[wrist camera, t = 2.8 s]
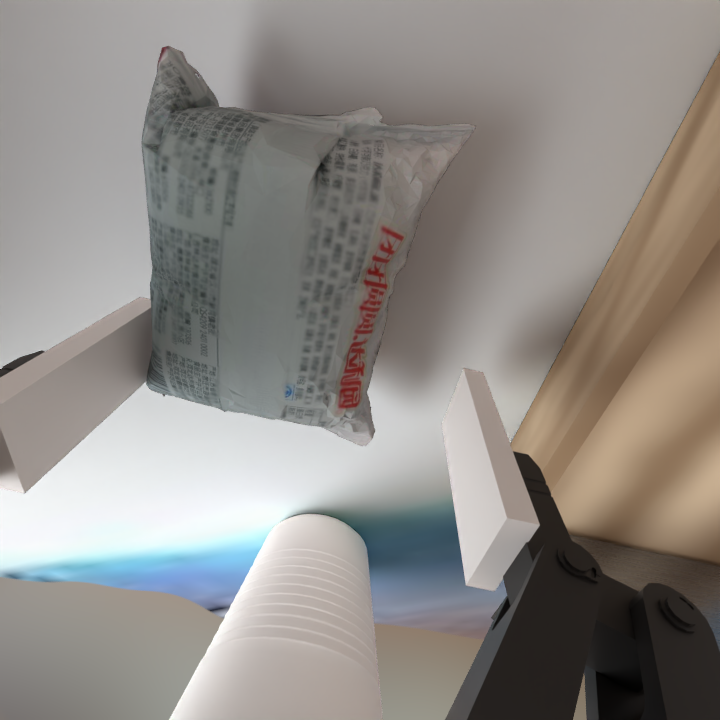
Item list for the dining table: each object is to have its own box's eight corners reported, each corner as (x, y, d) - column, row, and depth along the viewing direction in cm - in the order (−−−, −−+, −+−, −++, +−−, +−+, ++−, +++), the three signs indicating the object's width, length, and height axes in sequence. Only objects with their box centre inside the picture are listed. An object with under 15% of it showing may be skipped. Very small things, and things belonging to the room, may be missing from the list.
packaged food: (461, 134, 12) (493, 121, 8) (371, 419, 18) (360, 503, 13) (196, 61, 12) (77, 7, 8) (190, 373, 18) (121, 443, 13)
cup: (342, 463, 20) (290, 753, 10) (427, 567, 24) (446, 851, 14) (207, 517, 23) (73, 775, 14) (301, 601, 27) (247, 850, 17)
